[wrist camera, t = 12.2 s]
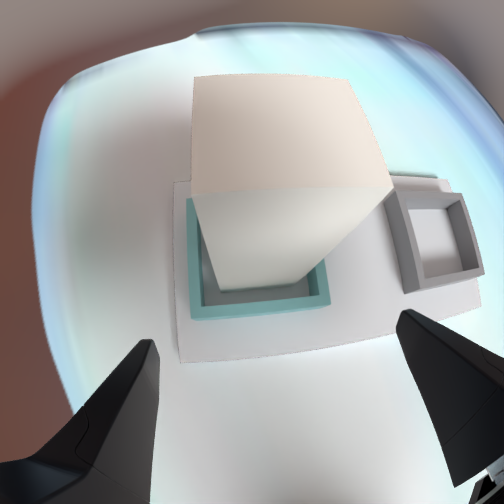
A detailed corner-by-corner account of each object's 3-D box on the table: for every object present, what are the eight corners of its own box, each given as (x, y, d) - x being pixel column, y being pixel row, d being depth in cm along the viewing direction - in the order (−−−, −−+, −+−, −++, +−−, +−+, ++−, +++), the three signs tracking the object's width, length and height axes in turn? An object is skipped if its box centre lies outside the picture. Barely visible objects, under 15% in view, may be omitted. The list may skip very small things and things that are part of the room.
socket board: (442, 184, 22) (459, 169, 19) (474, 307, 18) (497, 302, 15) (176, 189, 20) (168, 166, 17) (182, 361, 16) (172, 366, 13)
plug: (293, 286, 17) (393, 187, 6) (221, 293, 17) (191, 194, 5) (283, 217, 18) (339, 65, 7) (215, 222, 18) (195, 62, 7)
